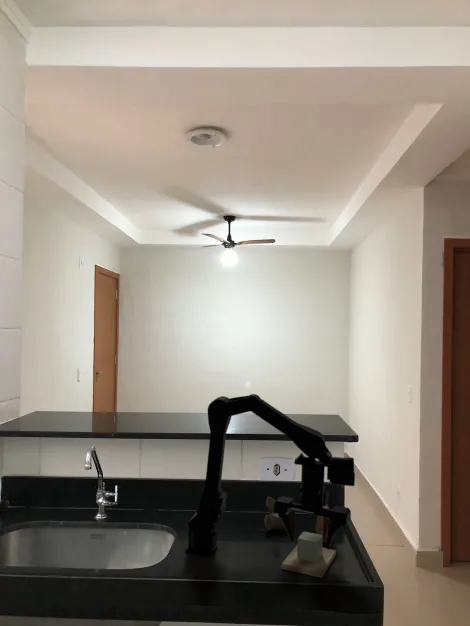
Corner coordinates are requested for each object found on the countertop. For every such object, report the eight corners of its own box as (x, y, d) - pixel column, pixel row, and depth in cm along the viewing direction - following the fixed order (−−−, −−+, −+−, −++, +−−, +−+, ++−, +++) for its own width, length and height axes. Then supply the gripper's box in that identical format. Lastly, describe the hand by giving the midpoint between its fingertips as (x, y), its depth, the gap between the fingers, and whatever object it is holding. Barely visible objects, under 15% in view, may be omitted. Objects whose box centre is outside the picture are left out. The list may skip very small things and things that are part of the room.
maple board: (281, 568, 130) (281, 563, 130) (298, 546, 143) (298, 542, 143) (321, 577, 126) (322, 572, 126) (335, 554, 139) (336, 550, 139)
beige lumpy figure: (284, 531, 149) (269, 496, 152) (265, 539, 151) (250, 505, 154) (294, 523, 157) (279, 490, 160) (276, 531, 159) (262, 498, 162)
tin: (314, 526, 158) (315, 497, 158) (325, 526, 158) (326, 498, 158) (320, 547, 143) (321, 516, 143) (332, 548, 143) (333, 516, 143)
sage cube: (297, 558, 133) (297, 538, 133) (303, 550, 138) (303, 531, 138) (316, 562, 131) (317, 542, 131) (322, 554, 136) (322, 535, 136)
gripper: (356, 479, 138) (354, 540, 138) (287, 469, 146) (285, 526, 146) (346, 491, 128) (344, 557, 128) (273, 479, 136) (271, 541, 136)
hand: (310, 544), depth 135 cm, fingers open, 9 cm apart
